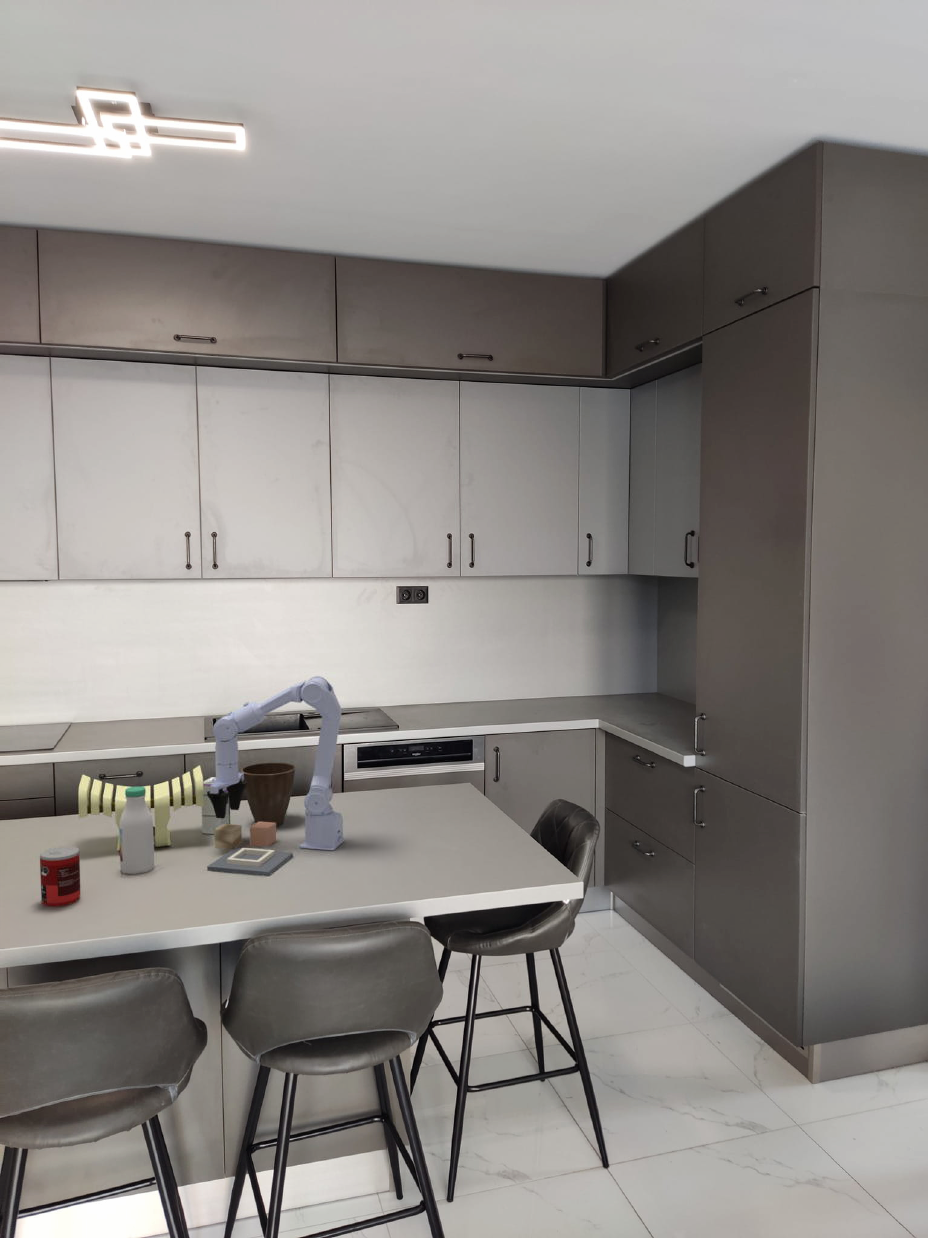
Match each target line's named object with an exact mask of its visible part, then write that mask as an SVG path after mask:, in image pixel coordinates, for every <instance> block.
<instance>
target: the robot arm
mask: <svg viewBox="0 0 928 1238" xmlns="http://www.w3.org/2000/svg"><path fill="white" fill-rule="evenodd" d="M291 702H293V703H297V704H301V703H302V702H304V703H305V704H307V705H308V706H310V707H312V708H313V709H315V710H316V712H318V714H319V715H320V717H322V719H321V725H320V731H319V737H318V738H319V739H318V743H317V744H318V745H317V748H316V749H317V750H316V757H315V761H314V762H315V763H314V768H313V769H314V770H313V776H312V779H311V782H310V788H309V792H308V793H307V794H306V796H305V798H304V800H303V802H304V803H303V804H304V808H305V809H304V829H305V830H304V833H305V836H304V838H305V839H304V842H302V843H301V844H300V845H299V848H300V849H308V850H309V849H312V850H321V851H322V850H324V851H335V850H336V849H337V848H338V847H339V846H340V845H341V844H342V843H344V842H345V840H344V829H343V827H344V822H343V821H344V820H343V815H342V813H340V812H337V811H333V810H334V808H333V807H332V805H331V804H330V802H331V801H332V799H333V796H334V792H333V788H332V773H333V767H334V761H335V757H336V749H337V743H338V736H339V731H340V730H339V729H340V724H341V720H342V719H341V718H342V714H343V712H342V707H341V705H340V702H339V701H338V697H337V695H336V694H335V691H334V686H332V684H331V683H330V682H329V681H328V680H327V679H326V678H324V677H323V676H313V677H311V678H309V679H308V681H307V679H306V680H303V681H300V682H298V683H297V682H296V683H295V684H293V685H291V686H289V687H287V688H285V689H283V690H281V691H280V692H278V693H277V694H274V695H273V696H271V697H269V698H267V699H266V700H264V701H263V702H256V701H251V702H249V701H246V702H245V703H243V704H242V707H240V708H238V709H236V710H234V711H229V712H227V714H226V715H224V716H222V717H221V718H219V719H218V720H217V721H216V722H215V723H214V725H213V727H212V734H213V736H214V738H215V746H214V747H215V748H214V749H215V756H214V757H215V777H216V778H213V779H212V782H214V783H213V784H212V785H211V786H210V791H208V792H207V796H208V797H209V799H210V800H211V802H212V805H213V808H214V811H215V815H216V818H222V819H223V818H225V815H226V805H227V800H228V797H229V803H230V811H239V810H240V806H241V801H242V798H243V794H244V793H245V788H246V786H247V782H243V780H244V773H242V772H239V744H238V734H239V733H243V732H245V731H248V730H249V729H251V728H253V727H255V726H256V725H258V724H260V723H262V722H264V720H265V718H266V717H265V716H266V714H269V713H270V712H272V711H274V710H275V711H276V710H277V709H279V708H281V707H283V706H284V705H287V704H289V703H291ZM224 788H227V791H228V792H224V791H223V789H224Z"/></svg>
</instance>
